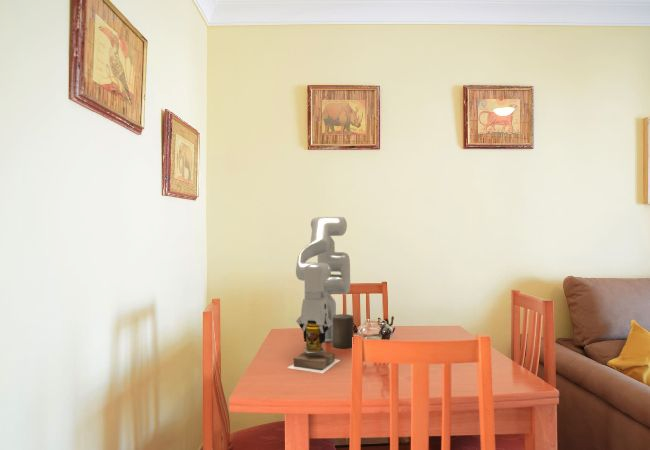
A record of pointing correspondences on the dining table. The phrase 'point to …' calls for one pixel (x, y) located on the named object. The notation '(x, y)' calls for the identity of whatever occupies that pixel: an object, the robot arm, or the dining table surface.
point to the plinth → (314, 360)
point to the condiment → (313, 338)
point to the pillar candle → (342, 331)
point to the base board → (314, 369)
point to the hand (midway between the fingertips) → (314, 341)
